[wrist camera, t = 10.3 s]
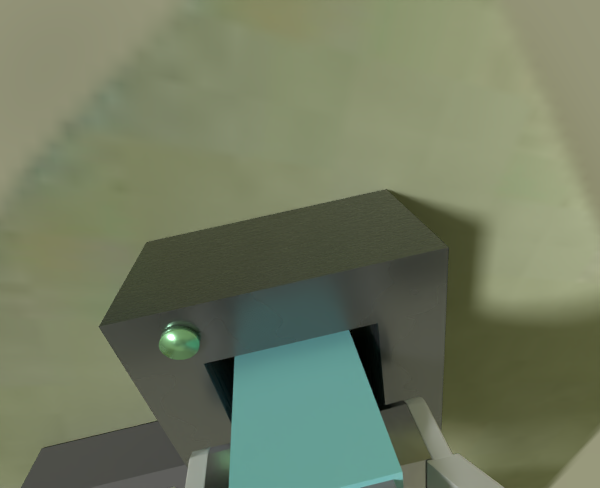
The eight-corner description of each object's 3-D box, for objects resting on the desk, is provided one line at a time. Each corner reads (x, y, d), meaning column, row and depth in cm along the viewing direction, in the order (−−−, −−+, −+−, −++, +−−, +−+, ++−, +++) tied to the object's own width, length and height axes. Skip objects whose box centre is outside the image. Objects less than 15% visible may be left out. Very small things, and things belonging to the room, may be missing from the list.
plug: (343, 354, 14) (436, 634, 7) (259, 374, 14) (271, 678, 7) (332, 286, 13) (439, 567, 6) (236, 308, 12) (222, 624, 5)
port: (396, 357, 17) (443, 452, 13) (218, 399, 17) (209, 509, 13) (386, 189, 13) (453, 251, 9) (146, 242, 12) (95, 332, 8)
